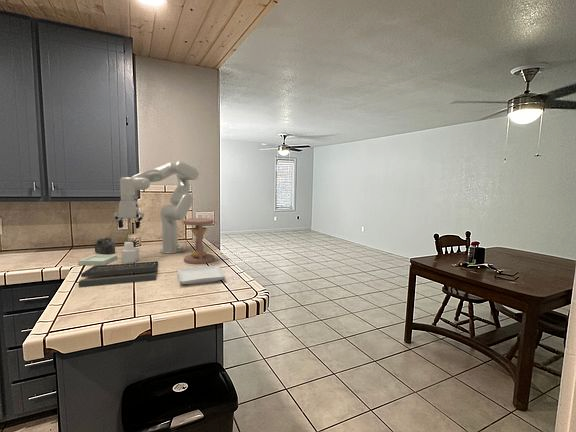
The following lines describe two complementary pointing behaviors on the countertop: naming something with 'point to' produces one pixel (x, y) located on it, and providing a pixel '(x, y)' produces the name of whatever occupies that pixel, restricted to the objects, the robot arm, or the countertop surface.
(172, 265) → the countertop surface
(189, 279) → the grey flat square slab
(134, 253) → the medicine bottle
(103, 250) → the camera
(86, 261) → the pale green square tray
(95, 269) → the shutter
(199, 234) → the hourglass
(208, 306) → the countertop surface
